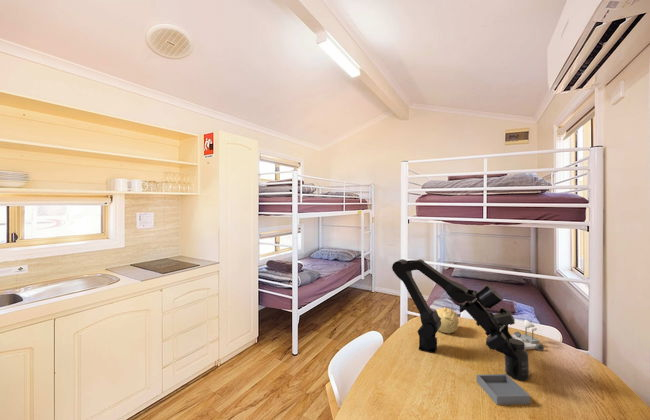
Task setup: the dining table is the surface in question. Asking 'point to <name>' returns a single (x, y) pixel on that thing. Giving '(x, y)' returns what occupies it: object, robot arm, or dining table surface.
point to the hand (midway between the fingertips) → (517, 353)
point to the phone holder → (528, 337)
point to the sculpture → (447, 320)
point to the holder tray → (503, 389)
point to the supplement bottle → (517, 361)
